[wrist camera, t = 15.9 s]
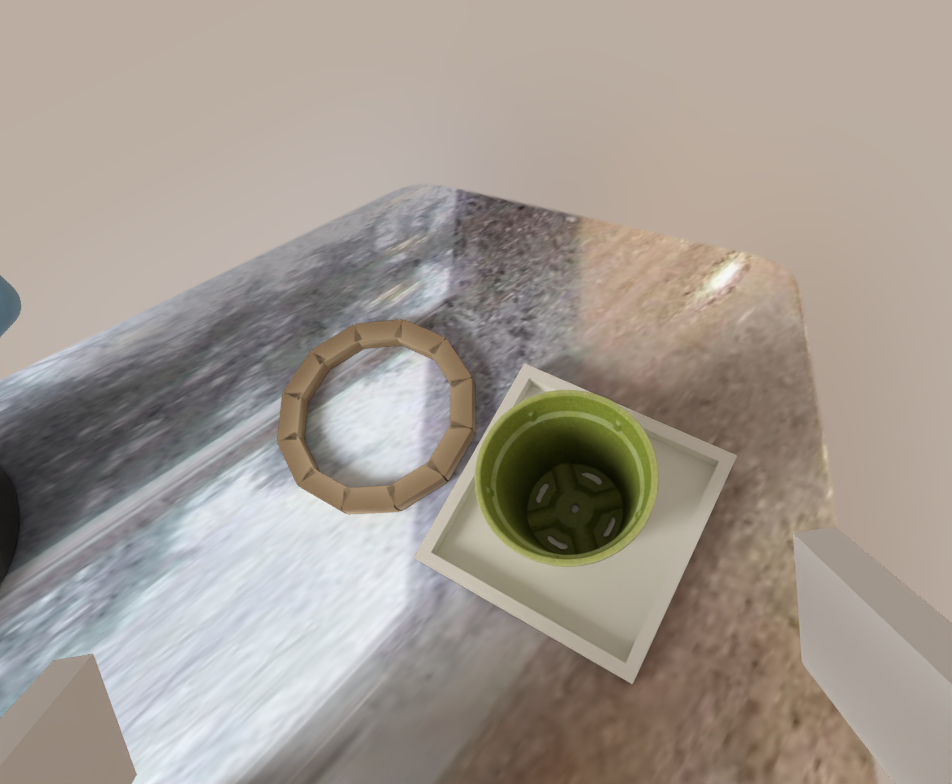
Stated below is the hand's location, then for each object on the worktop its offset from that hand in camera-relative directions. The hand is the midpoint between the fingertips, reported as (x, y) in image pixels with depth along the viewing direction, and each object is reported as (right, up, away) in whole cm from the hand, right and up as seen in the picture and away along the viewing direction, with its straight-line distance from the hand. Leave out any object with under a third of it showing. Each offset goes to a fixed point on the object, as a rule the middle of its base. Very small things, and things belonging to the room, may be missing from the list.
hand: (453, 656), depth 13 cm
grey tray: (+7, -3, +31) cm, 32 cm away
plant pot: (+7, -3, +31) cm, 32 cm away
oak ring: (-7, +3, +37) cm, 37 cm away
